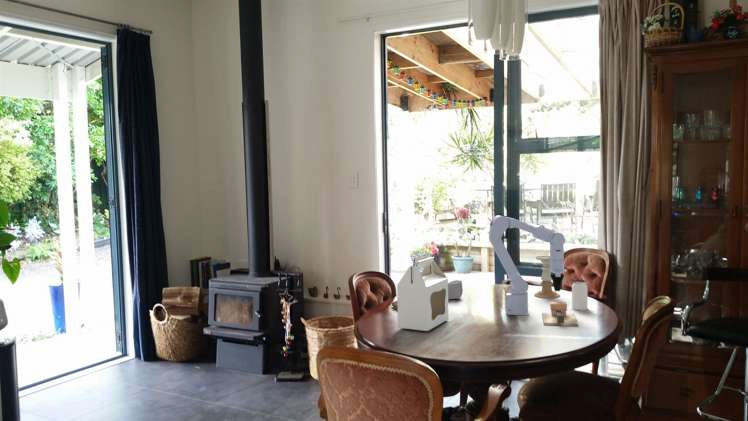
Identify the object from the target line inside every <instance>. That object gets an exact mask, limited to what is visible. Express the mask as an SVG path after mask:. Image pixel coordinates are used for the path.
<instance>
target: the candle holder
mask: <svg viewBox="0 0 748 421" xmlns="http://www.w3.org/2000/svg"><path fill="white" fill-rule="evenodd" d="M535 259H536V260H538V261H540V262H541V263H542V267H541V270H542V273H541V277H540V279H541V283H540V285H541V286H542V287H541V290H539V291H537V292H535V293H534V295H533V296H534V297H535V298H537V299H538V298H539V299H557V298H560V297H561V295H560V294H559V293H557V291H555V290H553V288H552V286H554V285H553V280H552V278H551V276H550V274H552V272H550V255H538V256H535Z"/></svg>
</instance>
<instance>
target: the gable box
mask: <svg viewBox="0 0 748 421" xmlns="http://www.w3.org/2000/svg"><path fill="white" fill-rule="evenodd" d="M434 258H435V256H432V254H431V253H428V254H424V255H421V256H418V257H414V258H413V263H412V264H413V265H411V266H409V267H408V268H407V270H406V271H405V272H404V274H403V276H402V277H401V278H400V280H399V282H398V283H397V285H396V295H397V296H396V298H397V300H396V301H397V304H398V310H397V328H399V329H405V330H415V331H424V332H429V331H431V330H432V329H434V328H435V327H437V326H440V325H441V324H442V323H444V322H446V321H448V320H449V318H450V317H449V299H448V283H449V279H448V277H447V276H446V274H445V273H444V272H443V271H442V269H441V268H440V266H439V265H438V263H437V261H435V260H434ZM421 268H423V269H422V271H421V272H420V269H421Z"/></svg>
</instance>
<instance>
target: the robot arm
mask: <svg viewBox="0 0 748 421" xmlns="http://www.w3.org/2000/svg"><path fill="white" fill-rule="evenodd" d="M514 228H516V229H519V230H522V231H525V232H527V233H530V234H531V235H532V237H533V238H535V239H538V240H540V241H543V242H545V243H549V256H550V272H551V274H550V276H551V278H552V283H553V285H552V286H553V291H555V292H560V291H561V288H562V282H563V279H564V277H565V274H564V273H567V272H568V270H567V269H565V262H564V261H565V259H564V258H565V254H564V253H565V252H564V245H565V243H566V238H565V236H564V234H562V233H561V232H558V231H556V230H555V229H550V228H547V227H545V225H543V224H539V225H535V226H534V225H532V224H528V223H526V222H523V221H521V220H520V219H516V218H513V217H508V216H503V215H501V214H499V215H498V214H497V215H495V216H493V217H492V219H491V221H490V222H489V234H488V239H489V242H490V243H491V246H492V248H493V250H494V251H495V254H496V255H497V257H498V259H499V261H500V263H501V265H502V267H503V268H504V270H505V272H506V274H507V276H508V279H509V285H510V288H511V291H510V292H507V293H506V295H505V296H506V297H505V301H506V302H505V311H506V315H509V316H510V315H511V316H513V315H514V316H530V310H529V292H528V291H529V283H528V282H527V281H526V280H524V278H523V277H522V275H521V274H520V273H519V270H518V269H517V266H516V264H515V263H514V261H513V259H512V257H511V255H510V254H509V252H508V250H507V248H506V246H505V244H504V242H503V240H502V238H503V236H504V232H506V231H507V229H514Z"/></svg>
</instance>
